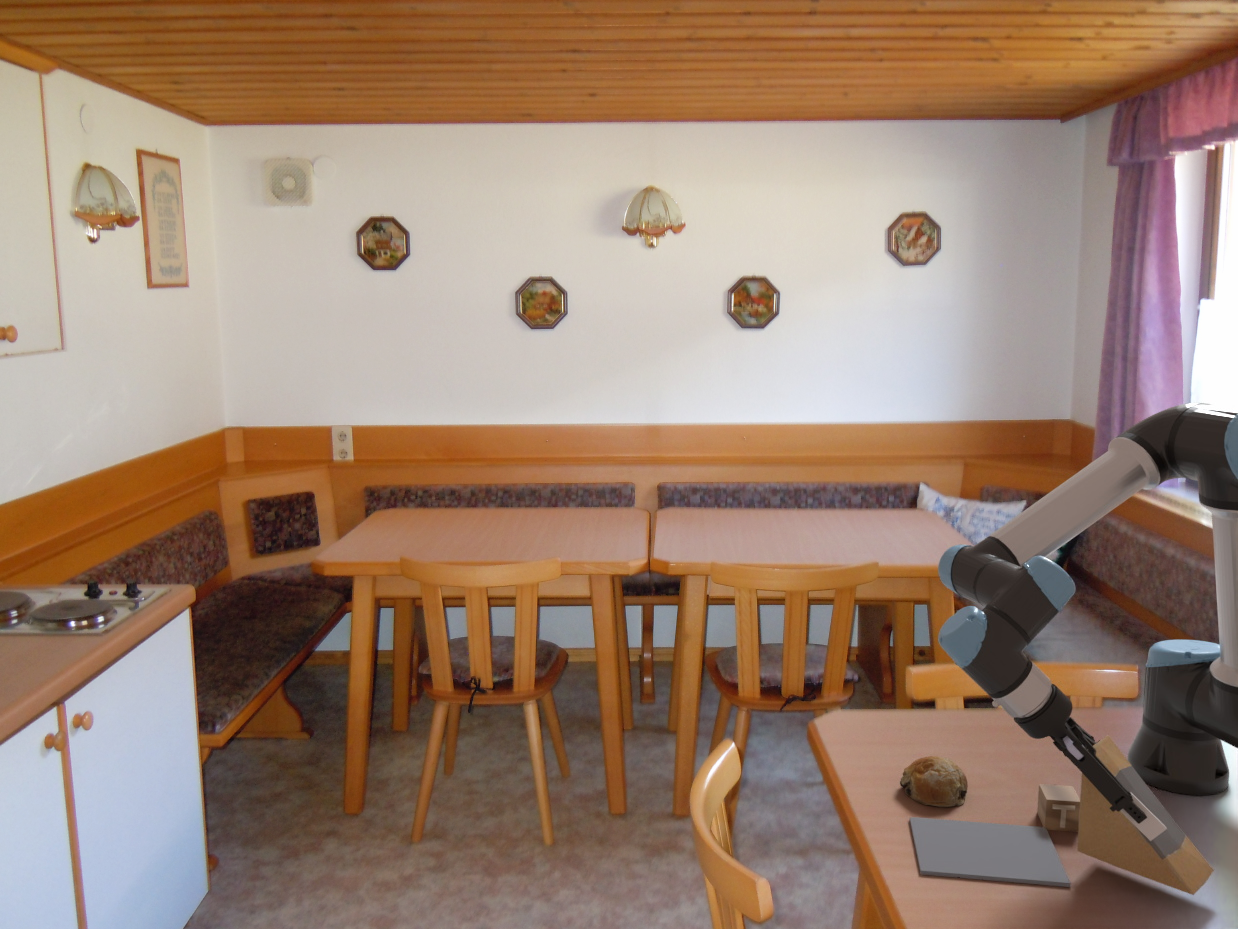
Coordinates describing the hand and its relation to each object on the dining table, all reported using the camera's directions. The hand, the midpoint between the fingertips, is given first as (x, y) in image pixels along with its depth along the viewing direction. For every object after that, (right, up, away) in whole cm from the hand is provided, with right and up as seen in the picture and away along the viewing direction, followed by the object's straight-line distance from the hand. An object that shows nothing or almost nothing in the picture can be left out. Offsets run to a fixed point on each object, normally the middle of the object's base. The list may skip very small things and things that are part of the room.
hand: (1142, 810), depth 143 cm
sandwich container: (0, -7, -1) cm, 7 cm away
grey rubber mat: (-19, -9, +8) cm, 23 cm away
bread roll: (-21, -6, +25) cm, 34 cm away
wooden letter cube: (-5, -7, +16) cm, 18 cm away
